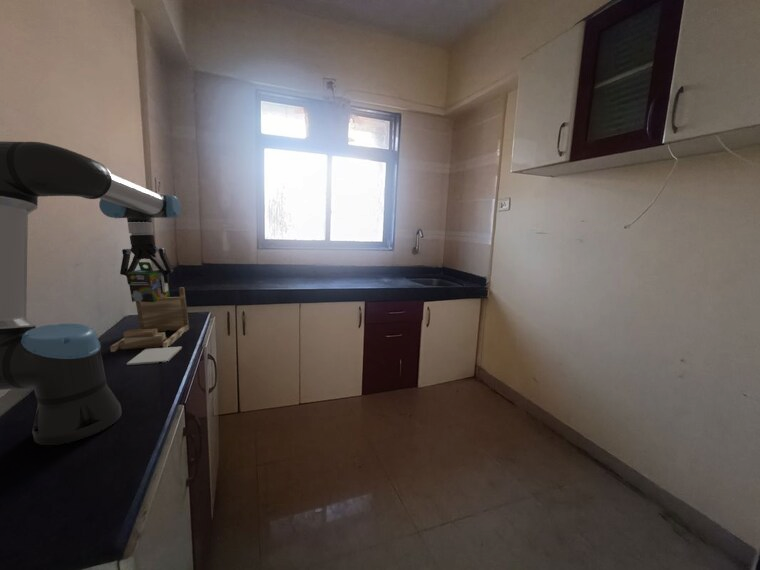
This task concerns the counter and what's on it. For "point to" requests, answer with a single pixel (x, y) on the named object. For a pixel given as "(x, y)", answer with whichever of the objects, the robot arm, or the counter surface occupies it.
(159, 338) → the offcut stack
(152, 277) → the chalk box
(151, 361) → the felt mat
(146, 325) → the rack
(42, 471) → the counter surface
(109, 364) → the counter surface
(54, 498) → the counter surface
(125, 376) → the counter surface
